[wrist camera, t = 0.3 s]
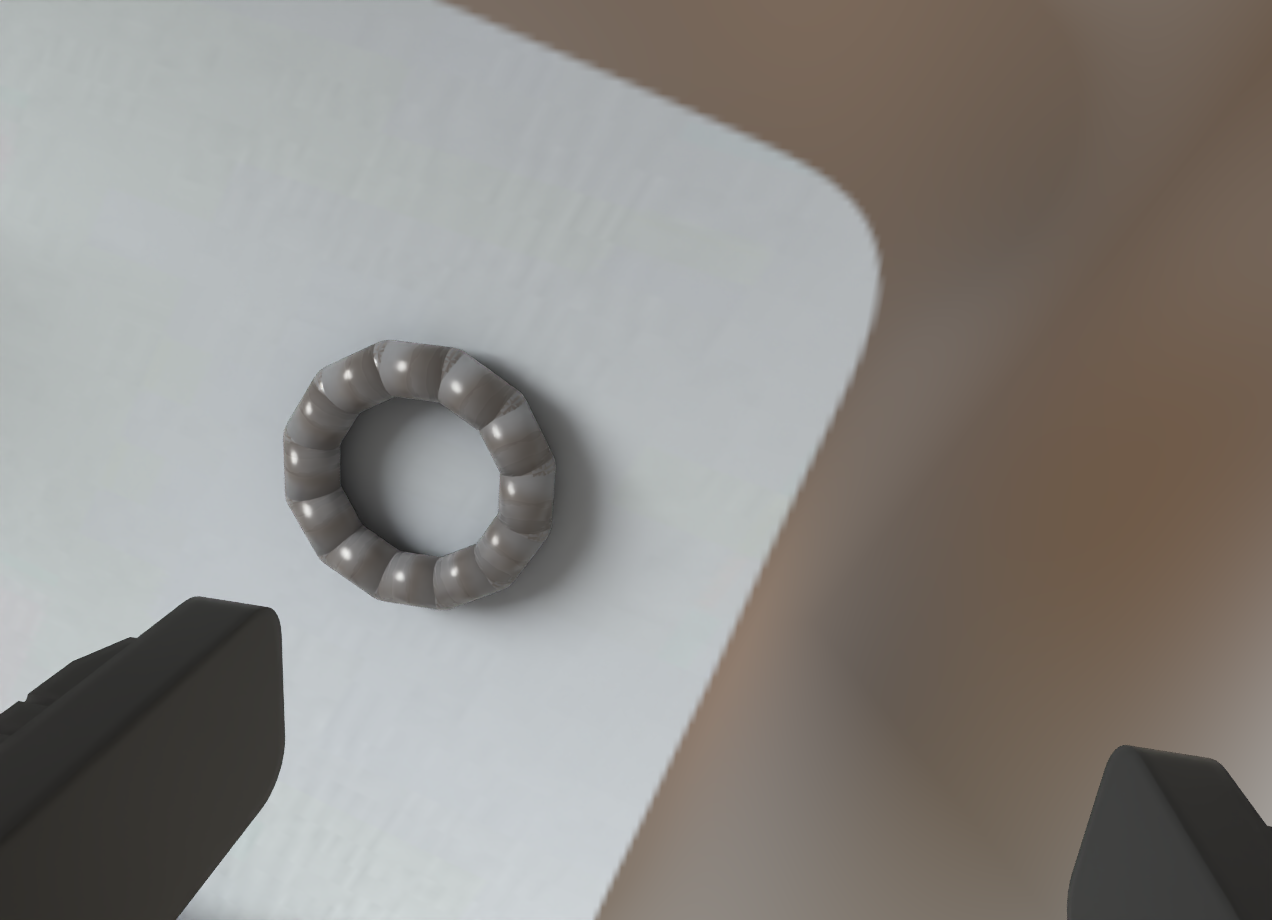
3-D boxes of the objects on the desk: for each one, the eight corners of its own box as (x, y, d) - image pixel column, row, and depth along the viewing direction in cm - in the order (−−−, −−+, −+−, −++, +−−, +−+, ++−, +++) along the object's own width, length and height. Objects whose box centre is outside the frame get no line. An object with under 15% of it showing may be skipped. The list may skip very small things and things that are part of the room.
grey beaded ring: (296, 322, 24) (269, 332, 23) (568, 356, 23) (556, 368, 22) (302, 572, 26) (278, 594, 25) (550, 610, 26) (538, 635, 24)
